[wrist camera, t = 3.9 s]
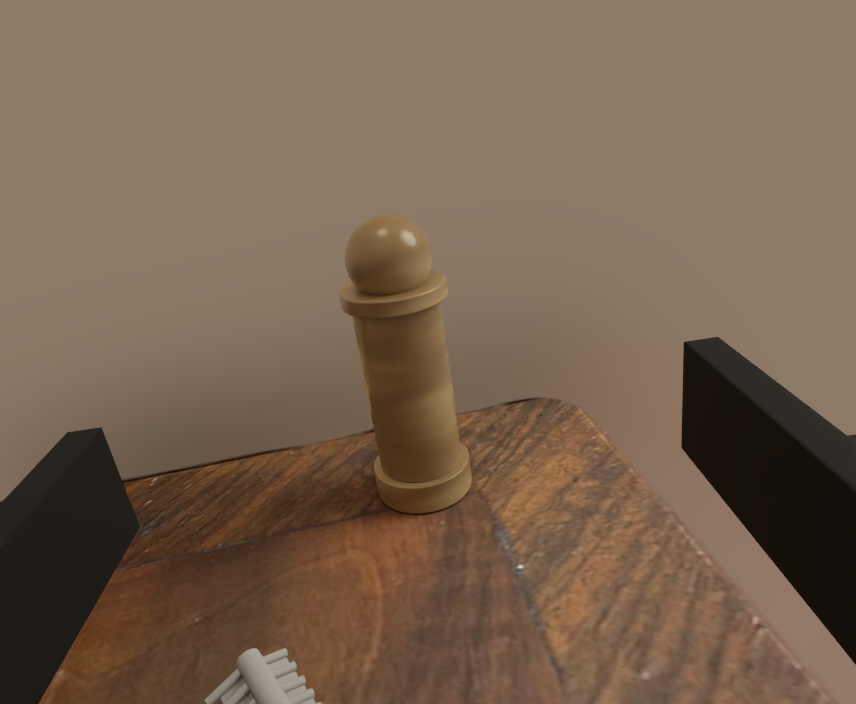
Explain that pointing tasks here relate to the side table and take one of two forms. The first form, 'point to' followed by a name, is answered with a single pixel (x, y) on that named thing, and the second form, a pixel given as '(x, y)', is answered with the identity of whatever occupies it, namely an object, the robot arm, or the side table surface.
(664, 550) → the side table surface
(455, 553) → the side table surface
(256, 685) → the lattice window wall
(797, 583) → the robot arm
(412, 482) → the game piece
